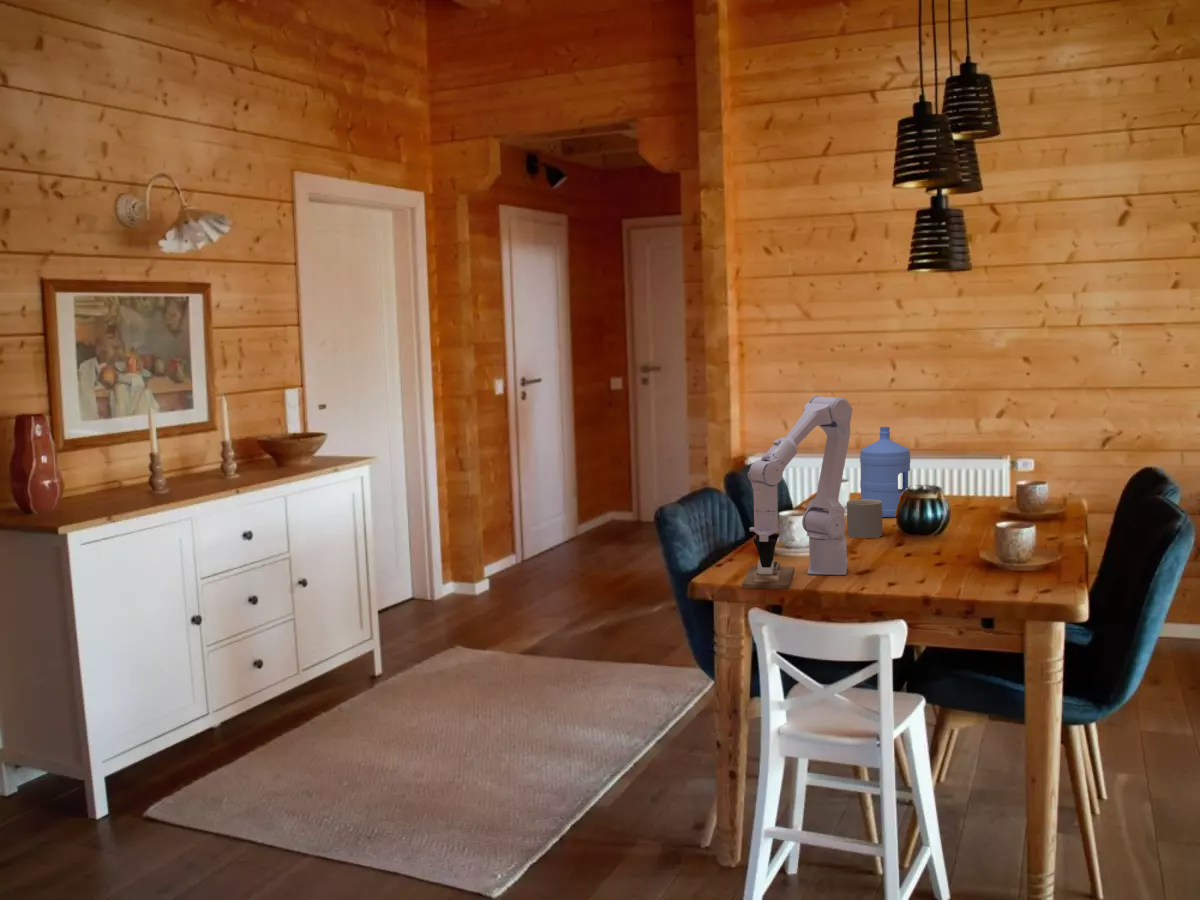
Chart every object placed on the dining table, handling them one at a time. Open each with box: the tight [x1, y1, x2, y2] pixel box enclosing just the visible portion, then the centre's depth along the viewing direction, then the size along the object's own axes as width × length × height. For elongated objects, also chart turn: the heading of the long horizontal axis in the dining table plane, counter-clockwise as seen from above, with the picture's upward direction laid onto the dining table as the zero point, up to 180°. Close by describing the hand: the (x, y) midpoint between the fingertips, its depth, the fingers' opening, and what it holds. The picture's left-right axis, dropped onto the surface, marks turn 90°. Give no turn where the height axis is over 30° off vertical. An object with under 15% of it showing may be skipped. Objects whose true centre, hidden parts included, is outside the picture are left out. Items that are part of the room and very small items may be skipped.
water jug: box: [859, 426, 911, 517], centre depth 364 cm, size 16×16×28 cm
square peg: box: [757, 558, 774, 576], centre depth 277 cm, size 4×4×4 cm
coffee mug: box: [846, 498, 883, 539], centre depth 332 cm, size 13×10×10 cm
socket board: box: [741, 560, 795, 590], centre depth 281 cm, size 11×20×2 cm, turn 167°
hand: (767, 565), depth 276 cm, fingers closed on square peg, 3 cm apart
